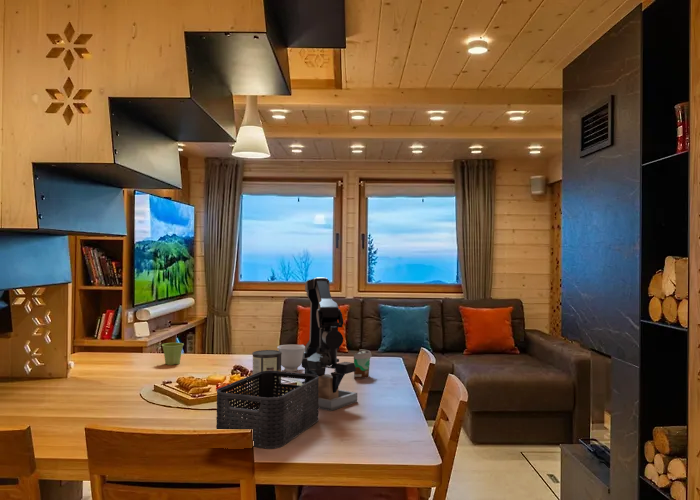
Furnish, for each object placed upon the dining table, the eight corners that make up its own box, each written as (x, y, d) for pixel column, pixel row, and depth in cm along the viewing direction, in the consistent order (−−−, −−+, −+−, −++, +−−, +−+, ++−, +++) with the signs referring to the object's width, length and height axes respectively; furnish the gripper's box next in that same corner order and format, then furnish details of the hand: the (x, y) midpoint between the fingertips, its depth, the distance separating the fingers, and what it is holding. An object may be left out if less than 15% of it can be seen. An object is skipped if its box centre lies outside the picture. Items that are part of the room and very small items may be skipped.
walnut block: (317, 397, 183) (317, 376, 183) (326, 394, 187) (326, 374, 187) (328, 400, 180) (329, 378, 180) (338, 397, 184) (338, 376, 184)
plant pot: (179, 366, 242) (180, 346, 242) (158, 365, 242) (158, 345, 242) (186, 362, 251) (186, 342, 251) (165, 361, 251) (165, 342, 252)
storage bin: (276, 451, 137) (277, 397, 138) (210, 441, 144) (211, 389, 144) (322, 420, 164) (322, 374, 164) (264, 413, 171) (264, 369, 171)
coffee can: (268, 387, 204) (269, 348, 204) (287, 392, 197) (287, 352, 197) (245, 392, 197) (246, 352, 197) (264, 397, 190) (264, 355, 190)
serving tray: (297, 403, 182) (297, 394, 182) (324, 395, 193) (324, 386, 193) (331, 410, 173) (331, 401, 173) (357, 401, 185) (357, 392, 185)
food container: (368, 380, 218) (369, 354, 218) (353, 379, 219) (353, 353, 219) (373, 373, 230) (374, 349, 230) (359, 373, 231) (359, 348, 231)
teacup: (314, 368, 239) (315, 345, 240) (293, 374, 227) (293, 349, 227) (292, 365, 246) (293, 342, 246) (270, 370, 233) (271, 347, 234)
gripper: (290, 343, 183) (290, 391, 182) (335, 349, 171) (335, 400, 171) (312, 339, 192) (312, 385, 191) (356, 345, 180) (356, 393, 180)
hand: (327, 391), depth 183 cm, fingers open, 5 cm apart
